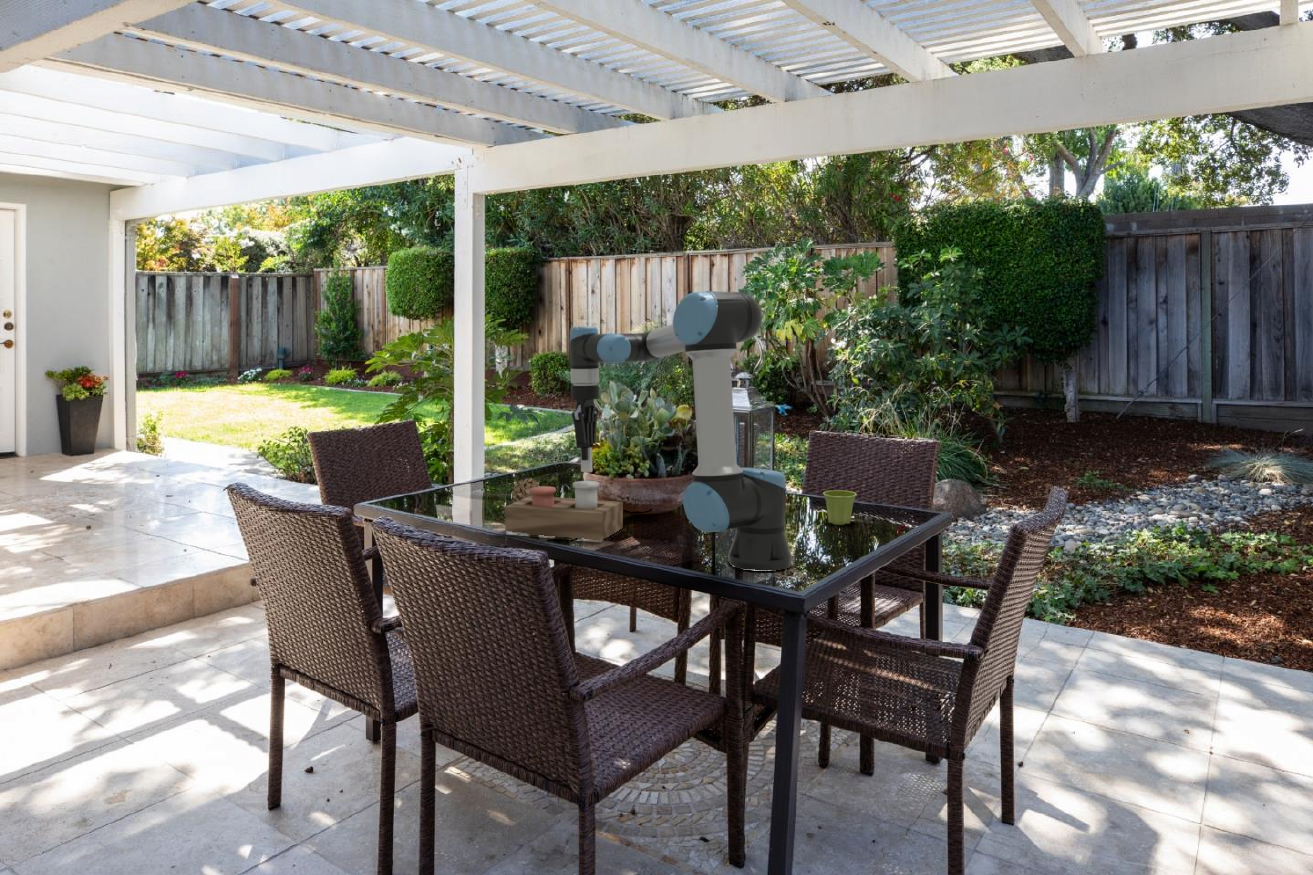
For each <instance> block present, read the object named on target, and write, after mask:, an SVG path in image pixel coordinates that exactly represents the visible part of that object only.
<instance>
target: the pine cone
mask: <svg viewBox="0 0 1313 875" xmlns="http://www.w3.org/2000/svg"><path fill="white" fill-rule="evenodd" d="M518 482H519V483H515V484H514V486H513V491H511V497H512V498H513V499H512V500H511V502H512V503H515V502H517V501H520V500H522V499H525V498H527V497H530V496H532V494H531V493H530V488H533V487H540V486H541V485H540V481H538V482H537V481H536V480H535V479H532V478H531V477H530V478H525V479H524V480H523V479H520V480H519V481H518Z"/></svg>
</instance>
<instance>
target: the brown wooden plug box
mask: <svg viewBox="0 0 1313 875" xmlns="http://www.w3.org/2000/svg"><path fill="white" fill-rule="evenodd" d="M623 512H624V511H623V502H619V500H616V501H615V500H602V499H601V500H600V499H597V508H596V509H580V508H575V498H572V497H559V496H558V497H557V496H556V497H555V496H554V505H552V506H537V505H532V496H530V497H527V498H525V499H522V500H520V501H517V502H512V503H510V504H508V505H506V506H504V515H505V516H504V518H505V519H504V522H505V525H504V526H505V532H506V531H512V532H521V533H527V534H534V535H544V536H557V537H569V538H584V539H593V540H603V539H604V538H607V537H609V536H610V535H612V534H614V533H616V532H617V531H619V530H620V529H622V528H623V525H624V524H623V522H624V521H623V520H624V518H623V514H624V513H623ZM623 529H624V528H623Z"/></svg>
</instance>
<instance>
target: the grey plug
mask: <svg viewBox="0 0 1313 875" xmlns="http://www.w3.org/2000/svg"><path fill="white" fill-rule="evenodd" d="M598 488H600V482H599V481H594V480H579V481H574V482H572V489H574V499H575V508H580V509H596V508H597V500H598Z"/></svg>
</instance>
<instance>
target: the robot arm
mask: <svg viewBox="0 0 1313 875" xmlns="http://www.w3.org/2000/svg"><path fill="white" fill-rule="evenodd" d="M762 324H763V312H762V309H761V306H760V305H759V303H758V302H757V301H756V299H754V298H753V297H752V296H751V295H749V294H747V293H745V292H741V291H740V292H738V291H732V292H731V291H713V290H712V291H711V290H710V291H709V290H703V291H702V290H701V291H693V292H690V293H688V294H686V295H685V296H683V297H682V299H681V300H680V302H679V303H678V304H677V305H676V307H675V310H674V313H673V316H672V323H671V324H669V325H664V326H662V327H658V328H654V329H652V330H649V331H645V332H641V333H638V332H637V333H613V332H612V333H599V329H598V327H596V326H573V327H571V328H570V329H569V341H568V343H569V359H570V360H569V361H570V372H569V375H570V383H571V384H573V385H571V386H570V395H571V396H570V398H571V399H572V400H575V401H576V403H575V404H576V405H575V411H573V412H572V413H571V416H572V419H573V420H572V421H573V426H574V434H575V441H576V448H577V449H580V471H581V473H592V472H593V448H595V447H596V446H597V445H596V441H597V440H596V438H597V427H598V425H597V424H598V415H599V412H600V410H599V408H597V407H596V405H595V400H598V399H600V386H599V385H598V383H600V368H599V363H600V364H601V363H602V364H610V365H613V364H616V365H617V364H620V363H634V362H635V363H637V362H649V363H650V362H651V363H652V362H657V361H662V360H664V358H665V357H667V356H671V355H676V354H679V353H683V352H685V355H686V356H687V357H689V358H690V359H691V361H692V373H693V376H692V377H693V391H694V392H693V393H694V408H695V409H694V410H695V426H696V428H695V429H696V446H697V463H698V464H697V466H696V468H695V469H694V470H693V472H692V473H691V476H692V477H691V478H692V483H690V484H689V485H688V486H687V487H686V489H685V491H684V492H683V496H682V504H683V505H682V506H683V509H684V512H685V515H686V517H687V519H688V521H689V522H690V523H692V525H693V527H695V528H696V529H698V530H699V531H702V532H704V533H714V532H718V533H721V532H724V531H726V530H731V529H735V534H734V538H733V540H732V543H731V546H730V548H729V552H728V555H727V556H728V558H727V559H728V560H727V562H728V561H729V562H730V563H731V564H732V565H734V566H736V567H740V568H743V569H755V570H779V569H785V570H787V568H788V569H790V568H791V567H792V564H793V562H792V561H793V557H792V553H791V549H790V545H789V543H788V539H787V537H786V528H785V527H786V503H787V502H786V499H787V497H786V496H787V487H786V477H785V474H783V473H782V472H781V471H778V470H777V471H776V470H772V469H766V468H765V469H764V468H757V467H756V468H753V467H740V466H739V465H738V463H737V457H736V438H735V437H736V436H735V420H734V419H735V418H734V417H735V416H734V404H733V402H734V400H733V399H734V398H733V384H732V383H733V381H732V366H731V361H732V360H731V358H732V356H733V355H734V354H735V353H736V352H737V351H738V350H737V349H738V348H737V343H744V342H746V341H749V340H751V339H752V338H754V337H755V336H756V335H757V334H758V332H759V331H760V329H761V326H762ZM595 407H596V408H595ZM790 566H791V567H790Z"/></svg>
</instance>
